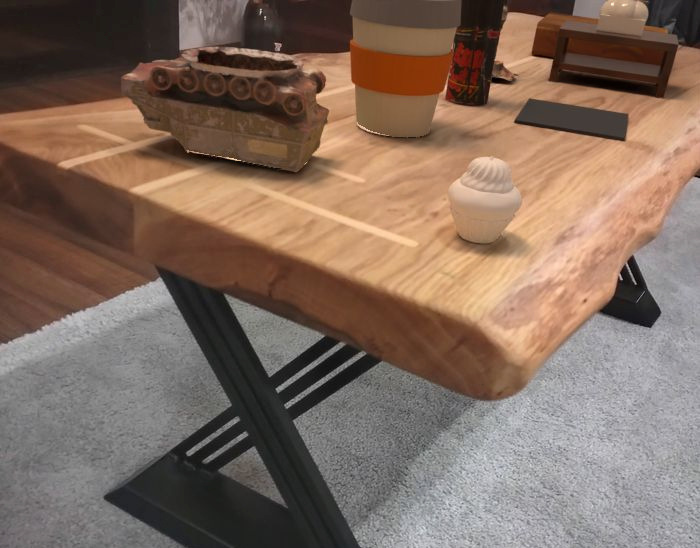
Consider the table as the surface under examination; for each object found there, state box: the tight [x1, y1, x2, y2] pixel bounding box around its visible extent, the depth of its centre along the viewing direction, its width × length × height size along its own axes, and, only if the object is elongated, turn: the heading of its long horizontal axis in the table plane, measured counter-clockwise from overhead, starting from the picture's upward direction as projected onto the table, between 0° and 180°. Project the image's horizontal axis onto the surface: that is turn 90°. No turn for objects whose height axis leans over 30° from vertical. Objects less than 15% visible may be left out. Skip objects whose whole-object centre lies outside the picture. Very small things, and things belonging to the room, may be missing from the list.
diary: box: [531, 11, 669, 66], centre depth 148 cm, size 23×19×6 cm
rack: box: [548, 20, 680, 99], centre depth 126 cm, size 18×11×8 cm, turn 71°
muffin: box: [447, 155, 523, 244], centre depth 64 cm, size 6×6×7 cm
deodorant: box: [445, 0, 505, 107], centre depth 105 cm, size 6×6×15 cm
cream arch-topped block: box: [597, 0, 649, 36], centre depth 123 cm, size 7×4×5 cm, turn 71°
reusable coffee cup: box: [349, 0, 461, 139], centre depth 90 cm, size 13×13×15 cm
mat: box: [513, 97, 629, 142], centre depth 105 cm, size 14×14×1 cm
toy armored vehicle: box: [120, 45, 330, 173], centre depth 76 cm, size 13×20×10 cm, turn 70°
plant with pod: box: [492, 0, 520, 82], centre depth 119 cm, size 8×11×20 cm
